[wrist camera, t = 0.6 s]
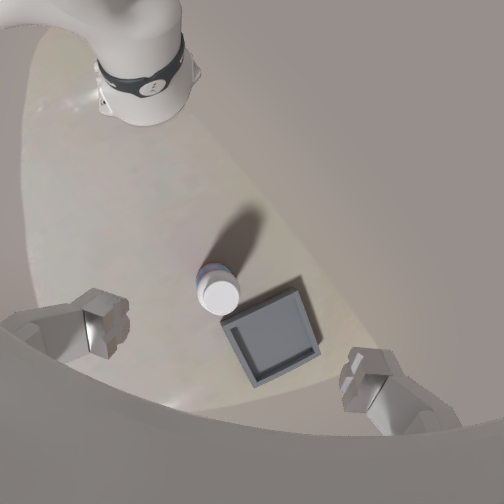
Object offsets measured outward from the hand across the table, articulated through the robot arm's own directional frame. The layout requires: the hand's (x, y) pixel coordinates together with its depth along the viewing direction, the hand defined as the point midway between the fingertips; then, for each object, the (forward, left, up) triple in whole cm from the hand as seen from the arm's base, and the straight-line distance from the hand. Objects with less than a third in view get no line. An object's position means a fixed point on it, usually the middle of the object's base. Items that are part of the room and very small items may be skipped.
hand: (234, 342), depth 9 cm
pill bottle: (+6, 0, -37) cm, 38 cm away
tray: (+20, +5, -37) cm, 42 cm away
